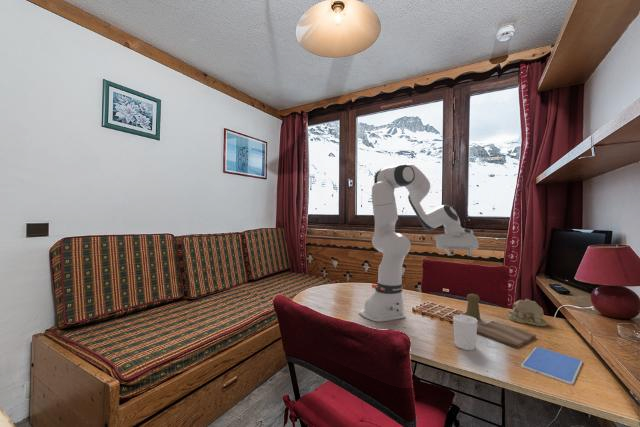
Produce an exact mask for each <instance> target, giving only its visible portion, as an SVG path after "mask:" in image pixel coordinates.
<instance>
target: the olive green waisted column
mask: <svg viewBox="0 0 640 427" xmlns="http://www.w3.org/2000/svg"><path fill="white" fill-rule="evenodd" d="M480 299H481V298H480V296H479V295H478V294H475V293H469V294H467V296H466V301H467V306H466V311H465V313H466V314H465V315H467V316H471V317H473V318H475V319H477V321H478V322H479V321H481V313H480V305H479V303H480V301H481V300H480Z"/></svg>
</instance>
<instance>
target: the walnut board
mask: <svg viewBox="0 0 640 427" xmlns="http://www.w3.org/2000/svg"><path fill="white" fill-rule="evenodd" d="M477 335H480V336H482V337H484V338H488V339H491V340H492V341H496V342H497V343H498V342H499V343H501V344H504V345H506V346H509V347H512V348H515V349H518V348H520V347H522V346H523V345H525V344H527V343H529V342H531V341H533V340H534V339H536V338H537V335H536V334H535V333H531V332H528V331H525V330H522V329H519V328H516V327H513V326H509V325H507V324H503V323H500V322H498V321H492V320H491V321H488V322H486V323H484V324H482V325H479V326H477Z"/></svg>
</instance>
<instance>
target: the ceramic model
mask: <svg viewBox="0 0 640 427" xmlns="http://www.w3.org/2000/svg"><path fill="white" fill-rule="evenodd" d="M506 315H507V318H508V319H509V320H511V321H513V322H516V323H520V324H528V325H533V326H538V327H539V326H540V327H547V326H548V322H546V320H545V319H543V317H542V316H544V315H545V314H544V310H543V308H542V307H541V306H540V305H539V304H538V303H537V302H536V301H534V300H530V299H529V298H525V300H523V299H519V300H517V301H516V302H513V304H512V311H510V310H507V311H506Z"/></svg>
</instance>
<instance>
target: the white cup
mask: <svg viewBox="0 0 640 427" xmlns="http://www.w3.org/2000/svg"><path fill="white" fill-rule="evenodd" d="M452 319H453V335H454V345H455V346H456V347H458V348H459V349H462V350H464V351H465V350H466V351H474V350H475V349H476V342H477V335H478V334H477V327H478V322H479V321H477V319H475V318H473V317H471V316H467V315H466V314H455V315H453V316H452Z"/></svg>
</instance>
